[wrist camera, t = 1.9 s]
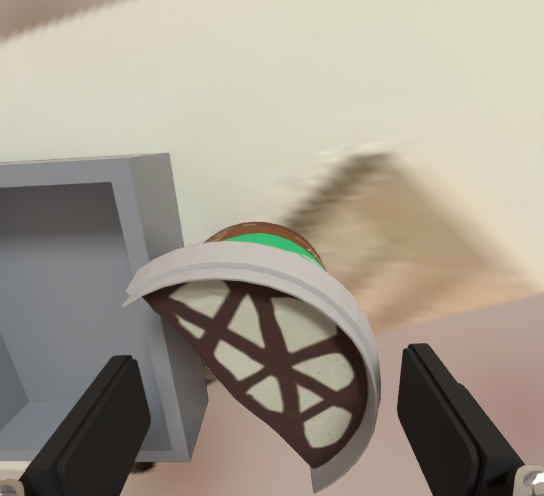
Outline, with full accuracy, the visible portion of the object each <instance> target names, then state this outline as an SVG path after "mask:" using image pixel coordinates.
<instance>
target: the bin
mask: <svg viewBox="0 0 544 496" xmlns="http://www.w3.org/2000/svg"><path fill="white" fill-rule="evenodd" d="M180 248H184V244H183V238H182V231H181V225H180V219H179V213H178V206H177V200H176V194H175V188H174V182H173V175H172V169H171V163H170V157H169V153H159V154H141V155H124V156H107V157H89V158H72V159H54V160H37V161H19V162H2V163H0V461H33V459H34V458H35V457H36V455H37V454H38V453H39V452H40V450H41V449H42V448H43V446H44V445H45V444H46V442H47V441H48V440H49V438H50V437H51V436H52V434H53V433H54V432H55V431H56V429H57V428H58V427H59V425H60V424H61V423H62V421H63V420H64V419H65V417H66V416H67V415H68V413H69V412H70V411H71V410H72V408H73V407H74V406H75V404H76V403H77V402H78V400H79V399H80V398H81V396H82V395H83V394H84V392H85V391H86V390H87V388H88V387H89V386H90V385H91V383H92V382H93V381H94V379H95V378H96V377H97V375H98V374H99V373H100V371H101V370H102V369H103V367H104V366H105V365H106V364H107V362H108V361H109V360H110V358H111V357H112V356H115V355H131V356H132V357H133V359H136V360H137V362H138V366H139V370H140V374H141V378H142V382H143V386H144V390H145V394H146V398H147V403H148V407H149V411H150V415H151V424H150V427H149V430H148V432H147V434H146V437H145V439H144V441H143V443H142V446H141V448H140V450H139V453H138V455H137V457H136V459H135V462H190V460H191V457H192V454H193V451H194V447H195V444H196V441H197V437H198V434H199V430H200V427H201V424H202V420H203V417H204V414H205V410H206V407H207V404H208V394H207V387H206V381H205V375H204V368H203V362H202V358H201V357H200V356H199V354H198V353H197V352H196V351H195V350H194V349H193V347H192V346H191V345H190V344H189V343H188V342H187V341H186V340H185V339H184V338H183V337H182V336H181V335H180V334H179V333H178V332H177V331H176V330H175V329H174V328H173V326H172V325H171V324H169V323H168V322H167V321H166V320H165V319H164V318H163V317H162V316H160V315H159V314H157V313H156V312H155V311H154V310H153V309H152V308H151V306H150V305H149V304H148V303H147V302H146V301H145V300H144V299H143V298H142V297H140V298H138V299H136V300H135V301H133V302H131V303H130V304H128V305H127V306H125V307H122V305H123V304H124V302H125V301H126V300H127V299H128V298H129V297H130V295H129V294H128V293H127V292H126V290H127V288H128V286H129V285H130V283H131V281H132V279H133V278H134V276H135V274H136V272H137V271H138V270H139V269H140V268H142V267H143V266H145V265H146V264H148V263H149V262H151V261H152V260H154V259H156V258H158V257H160V256H162V255H165V254H167V253H169V252H171V251H174V250H176V249H180Z"/></svg>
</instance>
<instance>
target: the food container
mask: <svg viewBox="0 0 544 496" xmlns="http://www.w3.org/2000/svg"><path fill="white" fill-rule="evenodd" d="M126 292H127V293H128V294H129V295H130V297H129V298H128V299H127V300H126V301H125V302H124V304H123V305H122V307H125V306H127V305H128V304H130V303H131V302H133V301H135V300H136V299H138V298H140V297H142V298H143V299H144V300H145V301H146V302H147V303H148V304H149V305H150V306H151V308H152V309H153V310H154V311H155V312H156V313H157V314H159V315H160V316H162V317H163V318H164V319H165V320H166V321H167V322H168V323H169V324H171V325H172V326H173V328H174V329H175V330H176V331H177V332H178V333H179V334H180V335H181V336H182V337H183V338H184V339H185V340H186V341H187V342H188V343H189V344H190V345H191V346H192V347H193V349H194V350H195V351H196V352H197V353H198V354H199V356H200V357H201V358H202V359H203V361H204V362H205V363H206V364H207V366H208V367H209V368H210V369H211V371H212V372H213V373H214V375H215V376H216V377H217V378H218V380H219V381H220V382H221V383H222V384H223V385H224V387H225V388H226V389H227V390H228V391H229V392H230V394H231V395H232V396H233V397H234V398H235V399H236V400H238V401H239V402H240V403H241V404H242V405H243V406H244V407H246V408H247V409H248V410H249V411H251V412H252V413H253V414H255V415H256V416H257V417H259V418H260V419H261V420H263V421H264V422H265V423H267V424H268V425H269V426H270V427H271V428H273V429H274V430H275V431H276V432H277V433H278V434H279V435H280V436H281V437H282V438H283V439H284V440H285V441H286V442H287V443H288V444H289V445H290V446H291V447H292V448H293V449H294V450H295V451H296V452H297V453H298V454H299V455H300V456H301V457H302V458H303V459H304V460H305V461H306V462H307V463H308V464H309V465H310V469H311V478H312V486H313V493H317V492H319V491H321V490H322V489H324V488H326V487H328V486H330V485H331V484H333V483H334V482H335V481H337V480H338V479H339V478H341V477H342V476H343V475H345V474H346V473H347V472H348V470H350V468H352V466H353V465H355V464H356V462H357V461H358V460H359V458H360V457H361V455H362V454H363V452H364V451H365V449H366V448H367V446H368V444H369V442H370V439H371V437H372V435H373V433H374V429H375V424H376V420H377V415H378V409H379V405H380V400H381V378H380V368H379V358H378V351H377V346H376V340H375V336H374V333H373V331H372V328H371V326H370V323H369V321H368V318H367V316H366V315H365V313H364V312H363V310H362V309H361V307H360V305H359V304H358V302H357V301H356V299H355V298H354V297H353V296H352V295H351V294H350V293H349V292H348V291H347V289H346V288H345V287H344V286H343V285H342V284H341V283H340V282H339V281H337V280H336V279H335V278H334V277H332V276H331V275H330V274H328V273H327V271H326V269H325V267H324V265H323V263H322V261H321V259H320V257H319V255H318V254H317V252H316V251H315V249H314V248H313V247H312V246H311V245H310V244H309V242H308V241H307V240H305V239H304V238H303V237H301V236H300V235H299V234H297V233H296V232H294V231H292V230H290V229H288V228H286V227H283V226H280V225H277V224H272V223H267V222H248V223H241V224H237V225H234V226H230V227H228V228H226V229H224V230H221V231H220V232H218V233H217V234H215V235H213V236H212V237H210V238H209V239H208V240H206V241H205V242H204V243H199V244H195V245H192V246H188V247H184V248H180V249H176V250H174V251H171V252H169V253H167V254H165V255H162V256H160V257H158V258H156V259H154V260H152V261H151V262H149V263H148V264H146V265H145V266H143V267H142V268H140V269H139V270H138V271H137V272H136V274H135V276H134V278H133V279H132V281H131V283H130V285H129V286H128V288H127V290H126Z"/></svg>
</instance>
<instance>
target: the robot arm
mask: <svg viewBox="0 0 544 496" xmlns="http://www.w3.org/2000/svg"><path fill="white" fill-rule="evenodd" d="M397 413H398V417H399V420H400V422H401V425H402V427H403V429H404V431H405V434H406V436H407V438H408V440H409V443H410V445H411V447H412V449H413V452H414V454H415V456H416V458H417V461H418V463H419V465H420V467H421V470H422V472H423V474H424V476H425V479H426V481H427V483H428V485H429V488H430V490H431V492H432V494H433V496H544V466H539V465H533V464H532V465H525V464H524V462H523V461H522V460H521V459H520V457H519V456H518V455H517V453H516V452H515V451H514V450H513V448H512V447H511V446H510V444H509V443H508V442H507V441H506V439H505V438H504V437H503V435H502V434H501V433H500V432H499V430H498V429H497V428H496V426H495V425H494V424H493V422H492V421H491V420H490V418H489V417H488V416H487V415H486V413H485V412H484V411H483V409H482V408H481V407H480V406H479V404H478V403H477V402H476V400H475V399H474V398H473V396H472V395H471V394H470V393H469V391H468V390H467V389H466V388H465V387H464V386H463V385H462V384H460V383H457V381H456V380H455V379H454V378H453V376H452V375H451V373H449V371H448V370H447V368H446V367H445V366H444V364H443V363H442V362H441V360H440V359H439V358H438V356H437V355H436V354H435V352H434V351H433V350H432V348H431V347H430V346H429V345H428V344H426V343H421V344H409V346H408V348H406V349H404V350H403V355H402V365H401V376H400V385H399V395H398V404H397ZM150 424H151V415H150V411H149V407H148V403H147V398H146V394H145V390H144V386H143V382H142V378H141V374H140V370H139V366H138V362H137V360H136V359H133V357H132V356H131V355H115V356H112V357H111V358H110V360H109V361H108V362H107V364H106V365H105V366H104V367H103V369H102V370H101V371H100V373H99V374H98V375H97V377H96V378H95V379H94V381H93V382H92V383H91V385H90V386H89V387H88V388H87V390H86V391H85V392H84V394H83V395H82V396H81V398H80V399H79V400H78V402H77V403H76V404H75V406H74V407H73V408H72V410H71V411H70V412H69V413H68V415H67V416H66V417H65V419H64V420H63V421H62V423H61V424H60V425H59V427H58V428H57V429H56V431H55V432H54V433H53V434H52V436H51V437H50V438H49V440H48V441H47V442H46V444H45V445H44V446H43V448H42V449H41V450H40V452H39V453H38V454H37V455H36V457H35V458H34V459H33V461H32V462H31V463H30V465H29V466H28V467H27V469H26V470H25V472H24V473H23V475H22V476H21V478H20V479H19V480H16V479H7V480H3V481H0V496H119V495H120V493H121V491H122V489H123V486H124V484H125V482H126V480H127V477H128V475H129V473H130V471H131V468H132V466H133V464H134V462H135V459H136V457H137V455H138V453H139V450H140V448H141V446H142V443H143V441H144V439H145V437H146V434H147V432H148V430H149V427H150Z"/></svg>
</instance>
